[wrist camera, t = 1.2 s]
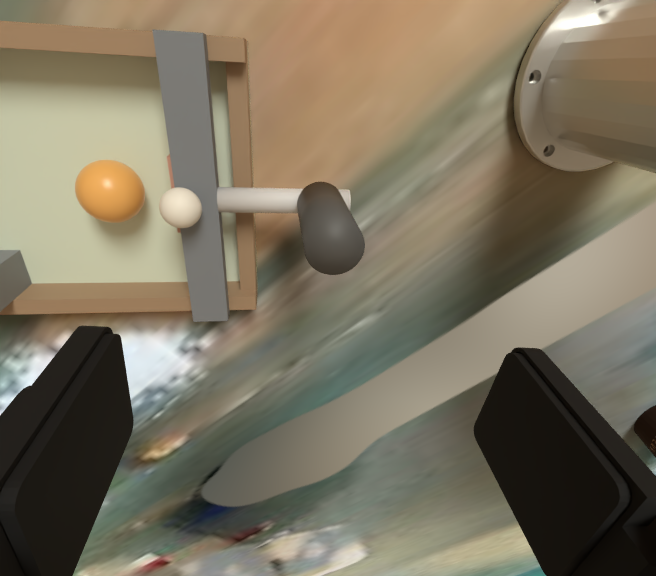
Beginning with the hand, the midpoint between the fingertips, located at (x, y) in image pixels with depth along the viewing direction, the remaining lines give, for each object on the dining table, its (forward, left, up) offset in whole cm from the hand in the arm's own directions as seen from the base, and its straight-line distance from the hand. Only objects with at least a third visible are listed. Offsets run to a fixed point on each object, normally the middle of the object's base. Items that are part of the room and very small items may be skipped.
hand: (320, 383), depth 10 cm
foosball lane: (+14, +1, -23) cm, 26 cm away
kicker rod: (+2, +1, -21) cm, 21 cm away
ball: (+12, +1, -20) cm, 23 cm away
